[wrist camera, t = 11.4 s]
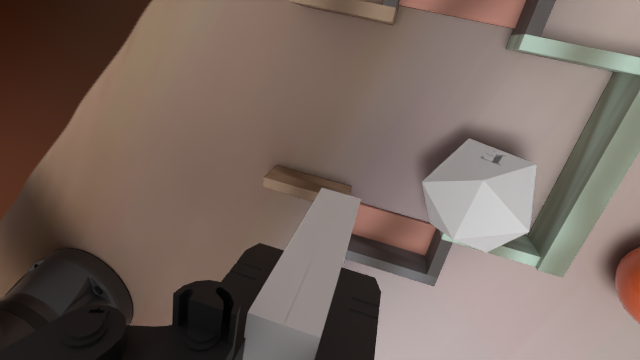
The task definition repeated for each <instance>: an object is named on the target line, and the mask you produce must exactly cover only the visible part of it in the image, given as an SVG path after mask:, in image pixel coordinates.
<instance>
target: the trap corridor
mask: <svg viewBox="0 0 640 360" xmlns="http://www.w3.org/2000/svg"><path fill="white" fill-rule="evenodd" d="M289 1H291V2H293V3H296V4H298V5H301V6H305V7H310V8H314V9H319V10H324V11H329V12H333V13H338V14H343V15H348V16H352V17H357V18H362V19H366V20H371V21H376V22H381V23H385V24H390V25H394V22H395V18H396V15H397V11H398V7H399V5H400V6H405V7H410V8H415V9H420V10H425V11H429V12H434V13H439V14H444V15H449V16H454V17H459V18H464V19H469V20H474V21H479V22H484V23H489V24H493V25H498V26H503V27H508V28H513V32H512V34H511V37H510V39H509V42H508V44H507V47H506V49H508V50H513V51H518V52H522V53H527V54H532V55H537V56H541V57H546V58H551V59H555V60H560V61H565V62H570V63H574V64H579V65H584V66H589V67H593V68H598V69H603V70H607V71H612V72H614V73H613V75H612V77H611V79H610V81H609V83H608V85H607V87H606V88H605V90H604V92H603V94H602V96H601V98H600V100H599V102H598V104H597V106H596V107H595V109H594V111H593V113H592V115H591V117H590V119H589V121H588V123H587V125H586V126H585V128H584V130H583V132H582V134H581V136H580V138H579V140H578V142H577V143H576V145H575V147H574V149H573V151H572V153H571V155H570V157H569V159H568V161H567V162H566V164H565V166H564V168H563V170H562V172H561V174H560V176H559V178H558V180H557V181H556V183H555V185H554V187H553V189H552V191H551V193H550V195H549V197H548V199H547V200H546V202H545V204H544V206H543V208H542V210H541V212H540V214H539V216H538V217H537V219H536V221H535V223H534V225H533V227H532V229H531V231H530V233H529V235H528V236H525V235H522V236H520V237H518V238H516V239H514V240H511V241H509V242H507V243H505V244H503V245H501V246H499V247H497V248H495V249H493V250H491V251H489V252H487V253H490V254H494V255H497V256H501V257H504V258H508V259H511V260H514V261H518V262H521V263H525V264H528V265H531V266H535V267H536V268H537V270H539V271H542V272H545V273H549V274H552V275H556V276H559V277H562V278H563V276H564V274H565V273H566V271H567V269H568V268H569V266H570V265H571V263H572V261H573V260H574V258H575V256H576V255H577V253H578V251H579V250H580V248H581V247H582V245H583V243H584V242H585V240H586V238H587V237H588V235H589V233H590V232H591V230H592V229H593V227H594V225H595V224H596V222H597V220H598V219H599V217H600V215H601V214H602V212H603V211H604V209H605V207H606V206H607V204H608V202H609V201H610V199H611V197H612V196H613V194H614V193H615V191H616V189H617V188H618V186H619V184H620V183H621V181H622V179H623V178H624V176H625V175H626V173H627V171H628V170H629V168H630V166H631V165H632V163H633V161H634V160H635V158H636V157H637V155H638V153H639V152H640V58H639V57H635V56H630V55H625V54H620V53H615V52H610V51H605V50H600V49H595V48H591V47H586V46H581V45H576V44H571V43H566V42H561V41H556V40H551V39H546V38H542V37H540V36H541V34H542V32H543V29H544V27H545V25H546V22H547V20H548V18H549V15H550V13H551V10H552V8H553V6H554V3H555V1H556V0H383V4H382V5H380V4H375V3H370V2H365V1H361V0H289ZM262 187H265V188H269V189H272V190H275V191H279V192H282V193H286V194H289V195H293V196H296V197H299V198H303V199H306V200H310V201H313V202H314V200H315V198H316V197H317V195H318V193H319V192H320V190H321V188H325V189H328V190H332V191H336V192H339V193H343V194H346V195H349V194H350V190H351V186H348V185H344V184H341V183H337V182H333V181H330V180H326V179H323V178H319V177H316V176H312V175H309V174H305V173H302V172H298V171H294V170H291V169H287V168H284V167H280V166H275V167H274V168H273V169H272V170H271V171H270V172H269V173H268V174H267V175H266V176H265V177H264V179H263V186H262ZM452 243H456V244H460V245H463V246H467V247H470V248H473V247H471V246H468V245H466V244H463V243H461V242H458V241H455V240H453V239H452V238H450V237H449V236H447V235H446V234H444V233H443V232H442V231H440V230H439V229H437V228H436V227H434V226H433V225H432V224H430V223H427V222H424V221H420V220H417V219H413V218H410V217H406V216H403V215H399V214H396V213H393V212H389V211H386V210H382V209H379V208H375V207H372V206H368V205H365V204H361V203H360V205H359V208H358V212H357V216H356V219H355V223H354V227H353V230H352V234H351V237H350V241H349V245H348V248H347V252H346V256H345V259H348V260H351V261H355V262H358V263H361V264H364V265H367V266H371V267H374V268H377V269H380V270H383V271H387V272H390V273H393V274H396V275H399V276H403V277H406V278H409V279H412V280H415V281H419V282H422V283H425V284H428V285H431V286H434V285H435V283H436V281H437V278H438V276H439V274H440V271H441V269H442V267H443V264H444V262H445V259H446V257H447V255H448V252H449V250H450V248H451V245H452ZM473 249H476V248H473ZM477 250H479V249H477ZM480 251H481V250H480Z"/></svg>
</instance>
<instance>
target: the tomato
mask: <svg viewBox="0 0 640 360" xmlns="http://www.w3.org/2000/svg"><path fill="white" fill-rule="evenodd" d="M615 287H616V291H617V294H618V297H619V300H620V302H621V304H622V305H623V307H624V309H625V310H626V311H627V312H628V313H629V314H630V315H631V317H632V318H633V319H635V320H636V321H637V322H638V323H639V324H640V247H638V248H636V249H634V250H632V251H630V252H629V253H627V254H626V255H625V256H624V257H623V258H622V259H621V261H620V262H619V264H618V266H617V269H616V275H615Z"/></svg>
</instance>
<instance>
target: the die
mask: <svg viewBox="0 0 640 360" xmlns="http://www.w3.org/2000/svg"><path fill="white" fill-rule="evenodd" d="M536 168H537V164H535V163H532V162H530V161H527V160H524V159H522V158H519V157H517V156H514V155H511V154H509V153H506V152H504V151H501V150H498V149H496V148H493V147H491V146H488V145H485V144H483V143H480V142H478V141H475V140H472V139H470V138H469V139H468V140H467V141H466V142H464V143H463V144H462V145H461V146H460V147H459V148H458V149H457V150H456V151H455V152H454V153H453V154H451V155H450V156H449V157H448V158H447V159H446V160H445V161H444V162H443V163H442V164H441V165H439V166H438V167H437V168H436V169H435V170H434V171H433V172H432V173H431V174H430V175H429V176H428V177H426V178H425V179H424V180H423V181H422V185H423V191H424V196H425V201H426V206H427V212H428V217H429V222H430V224H432V225H433V226H434V227H436V228H437V229H439V230H440V231H442V232H443V233H444V234H446V235H447V236H449V237H450V238H452V239H453V240H455V241H458V242H461V243H463V244H466V245H468V246H471V247H473V248H476V249H479V250H481V251H484V252H489V251H491V250H493V249H495V248H497V247H499V246H501V245H503V244H505V243H507V242H509V241H511V240H514V239H516V238H518V237H520V236H522V235H524V234H526V233H528V232H529V230H530V225H531V219H532V213H533V204H534V192H535V180H536Z"/></svg>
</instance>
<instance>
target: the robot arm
mask: <svg viewBox="0 0 640 360" xmlns="http://www.w3.org/2000/svg"><path fill="white" fill-rule="evenodd" d="M360 201H361V199H360V198H357V197H353V196H350V195H346V194H343V193H339V192H336V191H332V190H328V189H325V188H321V190H320V192H319V193H318V195H317V197H316V198H315V200H314V202H313V203H312V205H311V207H310V208H309V210H308V212H307V213H306V215H305V217H304V218H303V220H302V222H301V224H300V225H299V227H298V229H297V230H296V232H295V234H294V235H293V237H292V239H291V240H290V242H289V244H288V245H287V247H286V249H285V250H284V251H283V250H280V249H277V248H274V247H271V246H267V245H264V244H261V243H259V244H257V245H255V246H253V247H251V248H249V249H247V250H246V251H245V252H244V253H243V255H242V256H241V257H240V258H239V260H238V261H237V263H236V264H235V265H234V266H233V267H232V269H231V270H230V272H229V273H228V274H227V275H226V276H225V278H224V279H223V280H222V281H221V282H217V281H212V280H205V281H195V282H193V283H190V284H187V285H184V286H183V287H181V288H180V289H179V290H177V291H176V292H175V293H173V323H172V325H169V326H159V327H151V326H130V325H129V324H130V322H131V319H132V314H133V309H132V303H131V299H130V296H129V294H128V292H127V290H126V288H125V286H124V284H123V283H122V281H121V280H120V279H119V277H118V276H117V275H116V274H115V273H114V272H113V271H112V270H111V269H110V268H109V267H108V266H107V265H106V264H104V263H103V262H102V261H100V260H99V259H97V258H96V257H94V256H92V255H90V254H88V253H86V252H83V251H80V250H76V249H69V248H65V249H58V250H55V251H53V252H52V253H50V254H48V255H46V256H45V257H43V258H41V259H40V260H38V261H37V262H36V263H35V264H34V265H33V266H32V267H31V268H30V269H29V271H28V273H26V274H25V275H24V276H23V277H22V278H21V279H20V280H19V281H18V282H17V283H16V284H15V285H14V286H13V287H12V288H11V289H10V290H9V291H8V292H7V293H6V295H5V296H4V297H3V298H1V299H0V360H374V355H375V345H376V335H377V325H378V316H379V306H380V296H381V291H380V289H379V286H378V284H377V281H376V279H375V278H374V277H371V276H368V275H364V274H361V273H358V272H355V271H352V270H348V269H345V268H342V266H343V263H344V259H345V256H346V252H347V248H348V245H349V241H350V237H351V234H352V230H353V227H354V223H355V219H356V216H357V212H358V208H359V205H360Z"/></svg>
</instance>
